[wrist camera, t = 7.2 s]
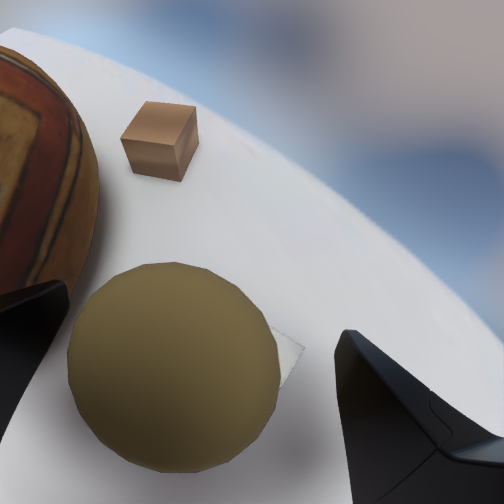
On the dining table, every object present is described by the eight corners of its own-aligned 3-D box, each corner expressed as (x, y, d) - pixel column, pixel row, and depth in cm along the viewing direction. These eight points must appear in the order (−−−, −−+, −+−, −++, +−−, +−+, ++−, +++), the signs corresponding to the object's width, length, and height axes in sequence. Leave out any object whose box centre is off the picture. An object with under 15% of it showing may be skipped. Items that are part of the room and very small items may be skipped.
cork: (154, 312, 16) (56, 217, 6) (260, 320, 16) (314, 231, 6) (146, 415, 14) (28, 466, 4) (256, 425, 14) (308, 514, 4)
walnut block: (181, 182, 21) (173, 145, 17) (133, 173, 21) (120, 138, 17) (198, 144, 22) (195, 106, 19) (154, 137, 22) (145, 101, 19)
